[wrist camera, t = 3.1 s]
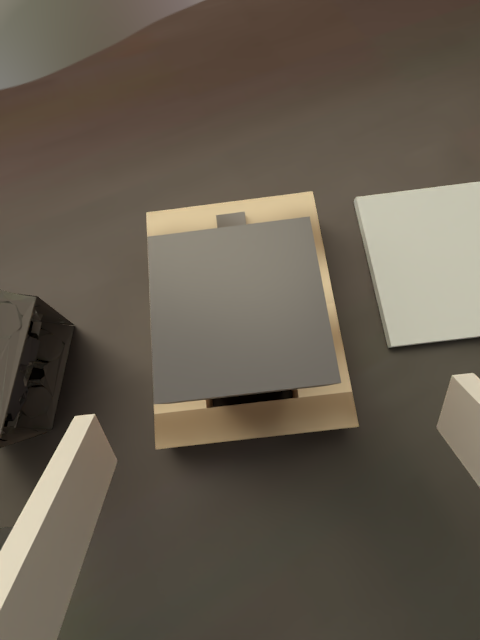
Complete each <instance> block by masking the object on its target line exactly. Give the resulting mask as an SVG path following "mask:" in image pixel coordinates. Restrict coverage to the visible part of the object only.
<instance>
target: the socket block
mask: <svg viewBox="0 0 480 640" xmlns="http://www.w3.org/2000/svg"><path fill="white" fill-rule="evenodd" d="M146 214H147V237H149V236H157V235H165V234H173V233H181V232H189V231H197V230H205V229H213V228H221V227H229V226H237V225H245V224H253V223H261V222H269V221H277V220H285V219H293V218H301V217H309V216H310V221H311V226H312V231H313V236H314V242H315V247H316V252H317V257H318V263H319V268H320V273H321V278H322V284H323V289H324V294H325V299H326V305H327V310H328V315H329V320H330V326H331V331H332V336H333V341H334V347H335V352H336V357H337V362H338V368H339V373H340V378H341V383H338V384H333V385H329V386H321V387H312V388H303V389H295V390H292V394H293V398H289V399H281V400H272V401H263V402H254V403H246V404H237V405H228V406H219V407H213V401H212V399H207V400H199V401H190V402H181V403H172V404H154V423H155V449H163V448H172V447H181V446H190V445H199V444H208V443H217V442H226V441H235V440H244V439H252V438H261V437H270V436H279V435H288V434H297V433H306V432H315V431H324V430H333V429H342V428H351V427H359V424H358V419H357V414H356V409H355V404H354V399H353V394H352V389H351V384H350V378H349V373H348V368H347V363H346V358H345V353H344V348H343V343H342V338H341V333H340V328H339V323H338V318H337V313H336V308H335V302H334V297H333V292H332V287H331V282H330V277H329V272H328V267H327V262H326V257H325V252H324V247H323V242H322V237H321V231H320V226H319V221H318V216H317V211H316V206H315V201H314V196H313V191H312V192H304V193H296V194H288V195H280V196H272V197H264V198H257V199H249V200H241V201H233V202H225V203H217V204H209V205H202V206H194V207H186V208H178V209H170V210H162V211H154V212H147V213H146ZM147 240H148V238H147ZM148 266H149V264H148ZM149 292H150V291H149ZM150 319H151V317H150ZM151 345H152V343H151ZM152 371H153V369H152ZM153 397H154V396H153Z"/></svg>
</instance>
